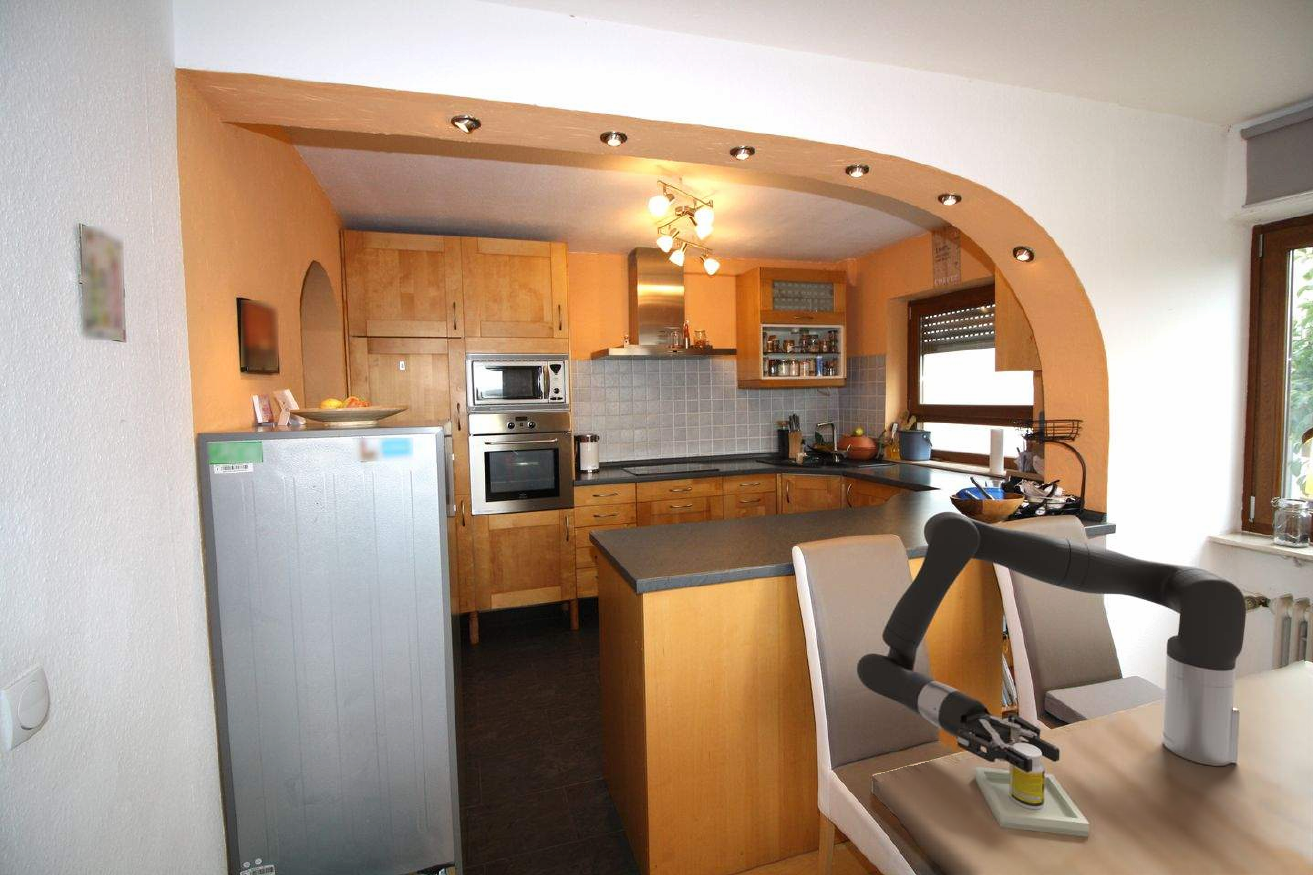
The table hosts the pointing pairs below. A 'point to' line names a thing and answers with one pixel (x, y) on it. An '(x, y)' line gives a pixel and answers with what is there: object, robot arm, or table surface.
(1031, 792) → the supplement bottle
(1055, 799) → the tray
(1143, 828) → the table surface
